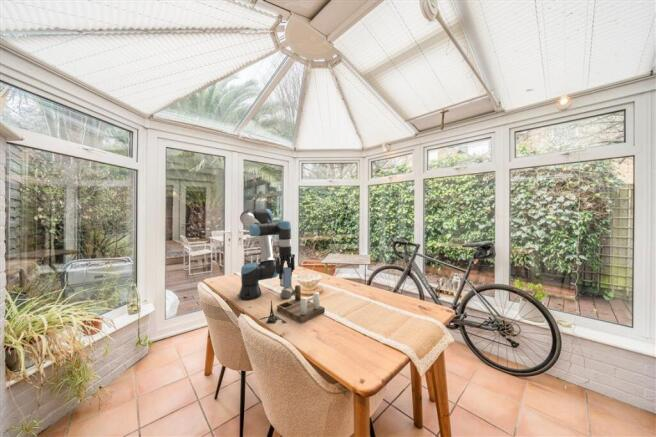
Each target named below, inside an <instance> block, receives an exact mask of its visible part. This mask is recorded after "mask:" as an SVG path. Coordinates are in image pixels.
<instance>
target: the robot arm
mask: <svg viewBox="0 0 656 437" xmlns="http://www.w3.org/2000/svg"><path fill="white" fill-rule="evenodd" d="M239 220H240V223H242V225H244V226H246V227H248V233H249V236H250V237H254V238H255V237H258V239H259V247H260V248H259V250H260V257H261V259H260V260H259V263H258V262H256V261H255V262H249V263H245V264H243V265H242V266H241V269H240V270H241V272H240V274H241V275H240V276H241V278H240V279H241V287H240V290H239V297H238V298H239V299H240V298H241V299H240V300H243V301H244V300H245V301H250V300H256V299H258V298H260V297H261V296H262V290H261V287H260V285H259V283H260V282H259V281H263V280H268V279H275V278H277V277H278V279H279V285H280V284H282V285H284V275H283V274H282V273H283V268H284V266H285V263H286V265H287V266H286V267H289V268H291V277H292V276H293V272H294V271H295V269H296V268H295V267H296V266H295V257H296V254H293V253H292V246H291V245H292V223H291V221H290V220H280V221H278V222H274V216H273V212H272V211H271V209H268V208H249V209H246V210H244V211H243V212H241V214H240V216H239ZM277 235H278V253H279V254H278V256H277V257H276V256H275V257H274V254H273V247H272V238H271V236H277Z"/></svg>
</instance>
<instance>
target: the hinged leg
mask: <svg viewBox="0 0 656 437" xmlns="http://www.w3.org/2000/svg"><path fill="white" fill-rule="evenodd" d="M308 301H310V302H312V301H313V302H312V303H313V308H314V309H319V306H320V292H318V291H317V292H316V291H315V292H313V293H312V295H311V296H308V297H306V296H301V315H306V314H307V302H308Z"/></svg>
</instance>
